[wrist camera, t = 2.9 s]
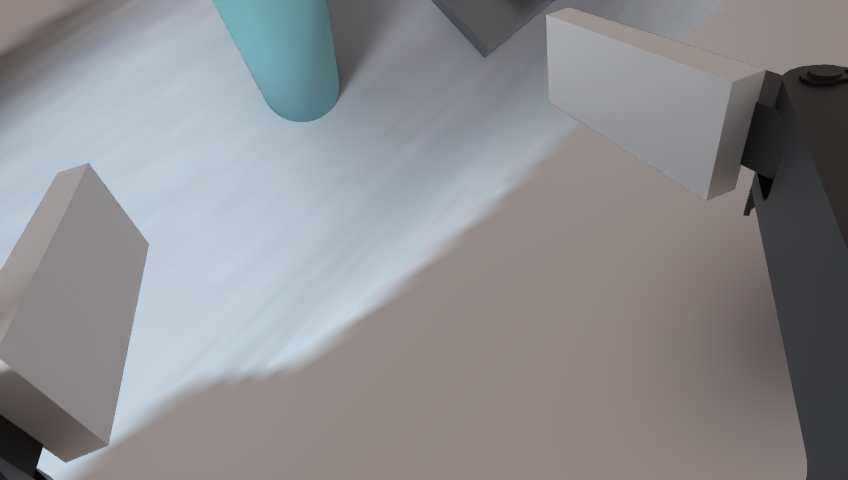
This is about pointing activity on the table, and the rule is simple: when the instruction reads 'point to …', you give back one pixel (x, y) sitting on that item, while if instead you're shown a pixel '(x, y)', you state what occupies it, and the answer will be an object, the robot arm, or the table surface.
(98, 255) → the robot arm
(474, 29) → the stand
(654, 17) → the table surface
